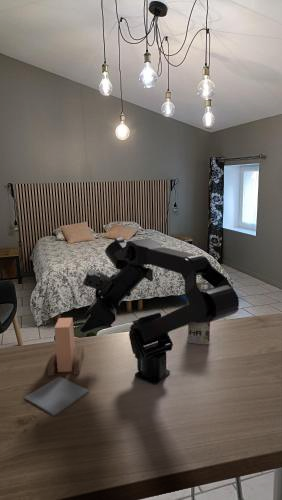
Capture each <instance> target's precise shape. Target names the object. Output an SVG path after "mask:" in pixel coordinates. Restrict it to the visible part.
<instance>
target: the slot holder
mask: <svg viewBox="0 0 282 500" xmlns="http://www.w3.org/2000/svg"><path fill="white" fill-rule="evenodd" d="M84 351H85V350H84V345H80V346H79V345H77V349H76V351H75V359H74V363H73V375H80V374H81V369H82V365H83V363H84V357H85V354H84ZM46 367H47V375H48V376H54V375H55V373H56V370H57V355H56V346H54V347H53V350H52V352H51V354H50V357H49V360H48V362H47V365H46Z"/></svg>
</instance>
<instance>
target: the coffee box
mask: <svg viewBox="0 0 282 500" xmlns="http://www.w3.org/2000/svg"><path fill="white" fill-rule="evenodd" d="M211 286H212V285H211V284H210V283H208V282H197V287H198V288H199V290H200V291H204V290H207V289H211V288H212V287H211ZM210 335H211V322H209V323H199V324H197V323H191V324H189V325H187V343H189V344H197V345H198V344H199V345H209V344H210V337H211V336H210Z"/></svg>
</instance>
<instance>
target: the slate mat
mask: <svg viewBox="0 0 282 500" xmlns="http://www.w3.org/2000/svg"><path fill="white" fill-rule="evenodd" d="M89 392H90V390H89V389H87V388H85V387H82V386H80V385H79V384H76V383H74V382H72V381H70V380H68V379H66V378H64V377H62V376H57V377H56V378H53V380H51V381H49V382H47V383H46V384H44V385H43V386H41V387H39V388H38V389H36V390H34V391H33V392H31V393H29V394H27V395H25V396H24V399H25V400H26V401H28V402H29V403H31V404H33V405H34V406H36V407H38V408H39V409H42V410H44V411H45V412H46V413H48V414H50V415H52V416H54V417H56V416H57V415H58V414H59V413H61V412H62V411H63V410H65V409H66V408H68V407H70V406H71V405H73V404H74V403H76V402H77V401H79V399H81V398H82V397H85V395H87V394H88V393H89Z"/></svg>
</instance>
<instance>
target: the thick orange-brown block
mask: <svg viewBox="0 0 282 500" xmlns="http://www.w3.org/2000/svg"><path fill="white" fill-rule="evenodd" d="M55 323H56V324H55V326H54V338H55V347H56V355H57V368H56V370H57V373H62V372H63V373H65V372H66V373H67V372H73V371H74V366H73V363H74V359H75V355H76V349H75V348H76V347H75V331H74V318H73V317H58V319H57V322H55Z"/></svg>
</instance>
